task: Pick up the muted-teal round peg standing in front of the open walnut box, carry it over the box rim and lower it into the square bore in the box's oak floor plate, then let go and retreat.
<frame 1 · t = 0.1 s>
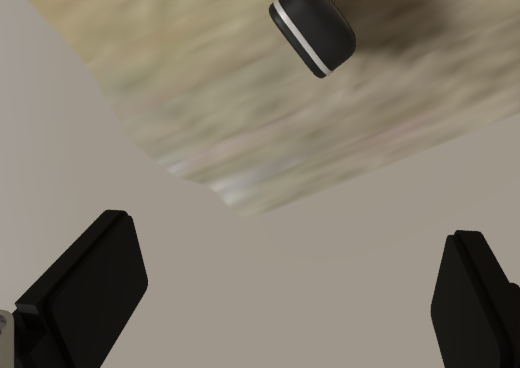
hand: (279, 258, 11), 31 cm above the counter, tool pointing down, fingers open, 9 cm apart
battery charger: (320, 15, 37), on the counter
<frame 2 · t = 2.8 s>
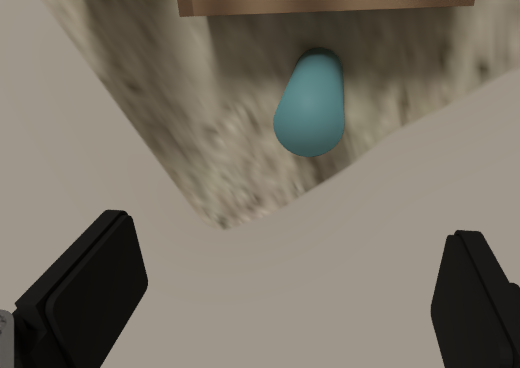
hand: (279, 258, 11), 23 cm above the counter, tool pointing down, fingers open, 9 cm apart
peg: (318, 72, 31), on the counter
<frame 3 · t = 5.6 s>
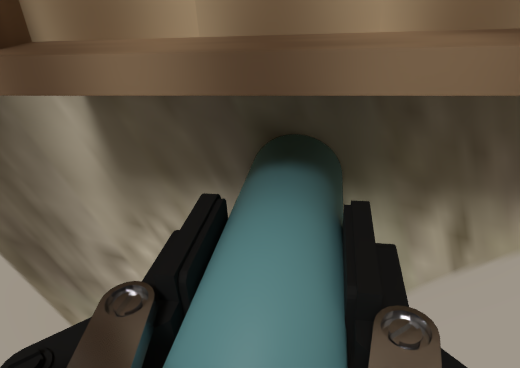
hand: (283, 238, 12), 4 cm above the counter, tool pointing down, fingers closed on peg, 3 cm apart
peg: (296, 176, 16), on the counter, touching gripper
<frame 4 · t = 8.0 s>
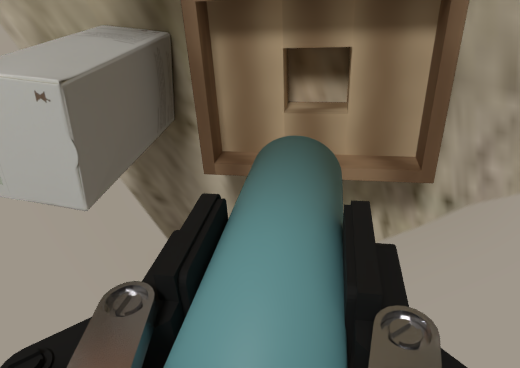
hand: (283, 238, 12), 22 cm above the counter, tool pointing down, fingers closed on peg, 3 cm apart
box: (318, 72, 31), on the counter
peg: (296, 177, 16), point 18 cm above the counter, touching gripper
skincare box: (144, 76, 35), on the counter
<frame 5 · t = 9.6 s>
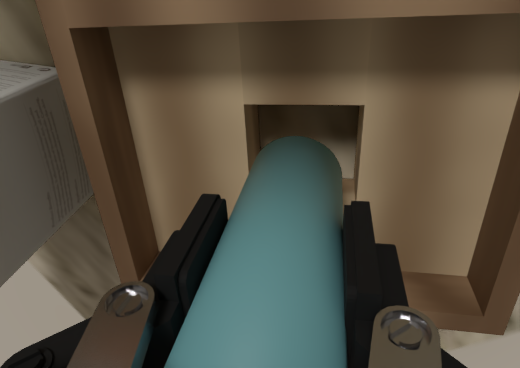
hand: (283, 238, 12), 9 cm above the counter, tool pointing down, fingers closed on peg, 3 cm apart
box: (307, 134, 19), on the counter
peg: (296, 178, 16), point 4 cm above the counter, touching gripper
skincare box: (43, 131, 23), on the counter
when the fingers open (6 cm above the counter, at t = 10.8 s): peg drops 1 cm, resting in box.
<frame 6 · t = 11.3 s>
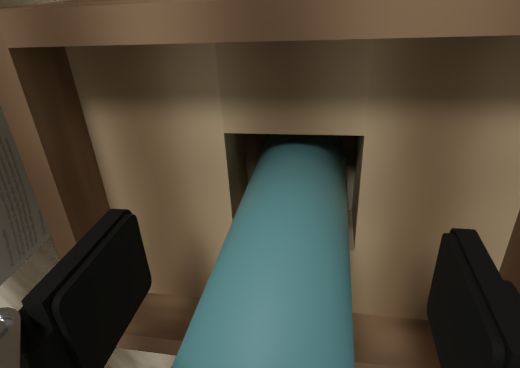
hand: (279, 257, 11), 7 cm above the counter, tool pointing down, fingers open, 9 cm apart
box: (298, 161, 17), on the counter
peg: (302, 161, 17), resting in box
skincare box: (6, 154, 20), on the counter
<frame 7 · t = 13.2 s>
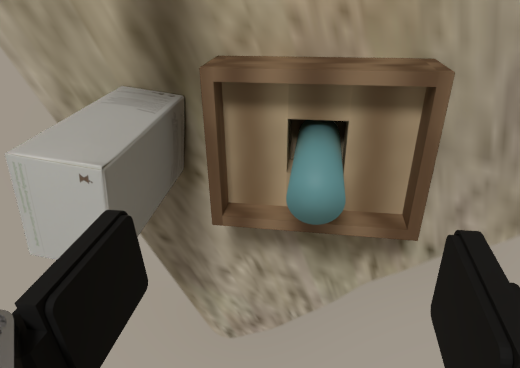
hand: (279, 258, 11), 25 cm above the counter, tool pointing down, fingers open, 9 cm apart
box: (317, 135, 35), on the counter
peg: (318, 135, 35), resting in box
skincare box: (157, 130, 38), on the counter
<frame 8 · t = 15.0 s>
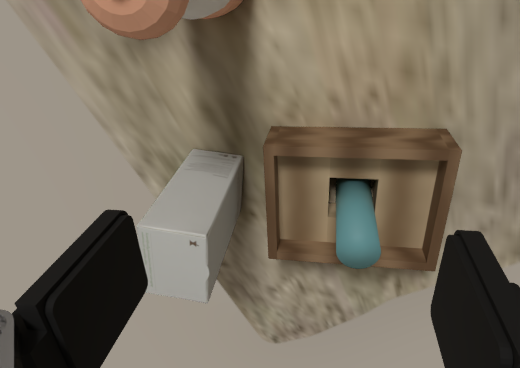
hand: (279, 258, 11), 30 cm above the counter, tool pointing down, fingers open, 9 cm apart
box: (351, 185, 43), on the counter
peg: (352, 185, 43), resting in box
skincare box: (219, 180, 47), on the counter
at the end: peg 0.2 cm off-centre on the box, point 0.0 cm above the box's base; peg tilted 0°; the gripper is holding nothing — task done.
